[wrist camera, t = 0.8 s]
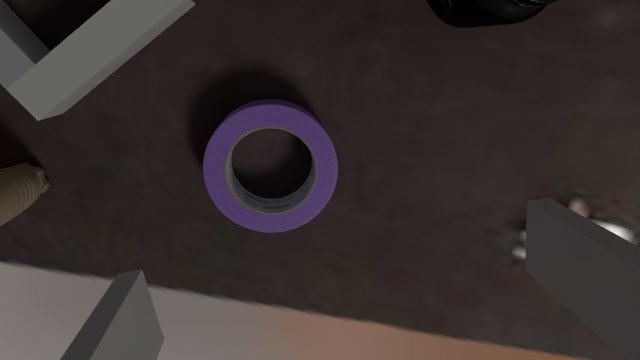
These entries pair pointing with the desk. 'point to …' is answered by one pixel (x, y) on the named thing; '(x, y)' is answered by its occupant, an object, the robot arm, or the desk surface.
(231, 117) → the masking tape
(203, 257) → the desk surface
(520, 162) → the desk surface
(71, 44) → the socket
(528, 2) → the supplement bottle
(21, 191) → the handle
